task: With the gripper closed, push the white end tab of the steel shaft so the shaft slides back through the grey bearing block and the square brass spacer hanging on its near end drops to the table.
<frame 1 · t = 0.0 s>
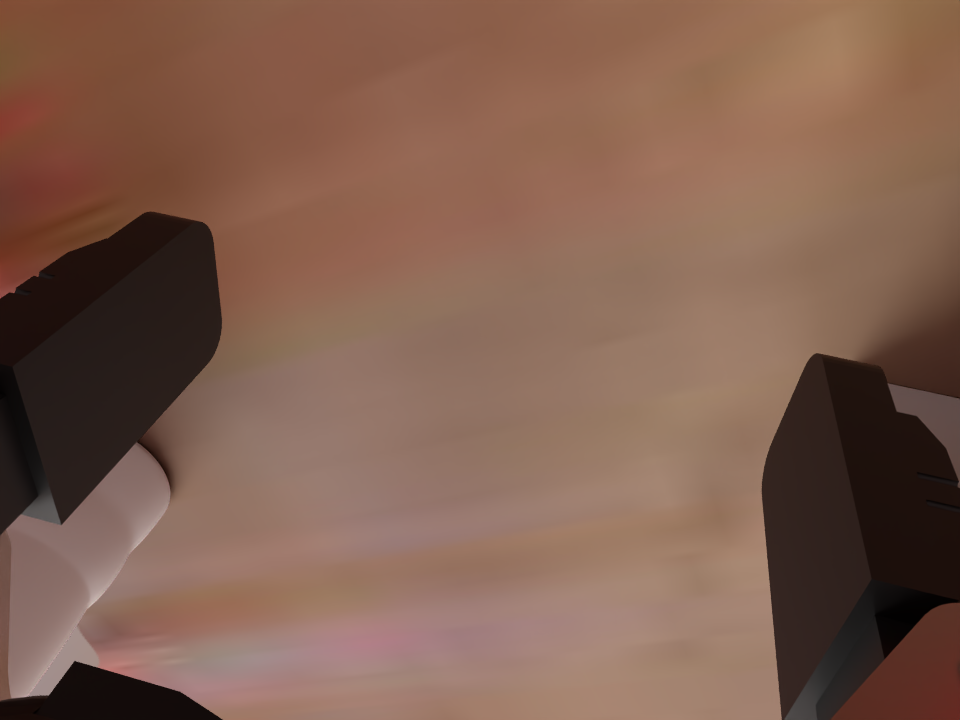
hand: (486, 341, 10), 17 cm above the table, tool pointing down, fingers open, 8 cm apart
water bottle: (119, 464, 43), on the table
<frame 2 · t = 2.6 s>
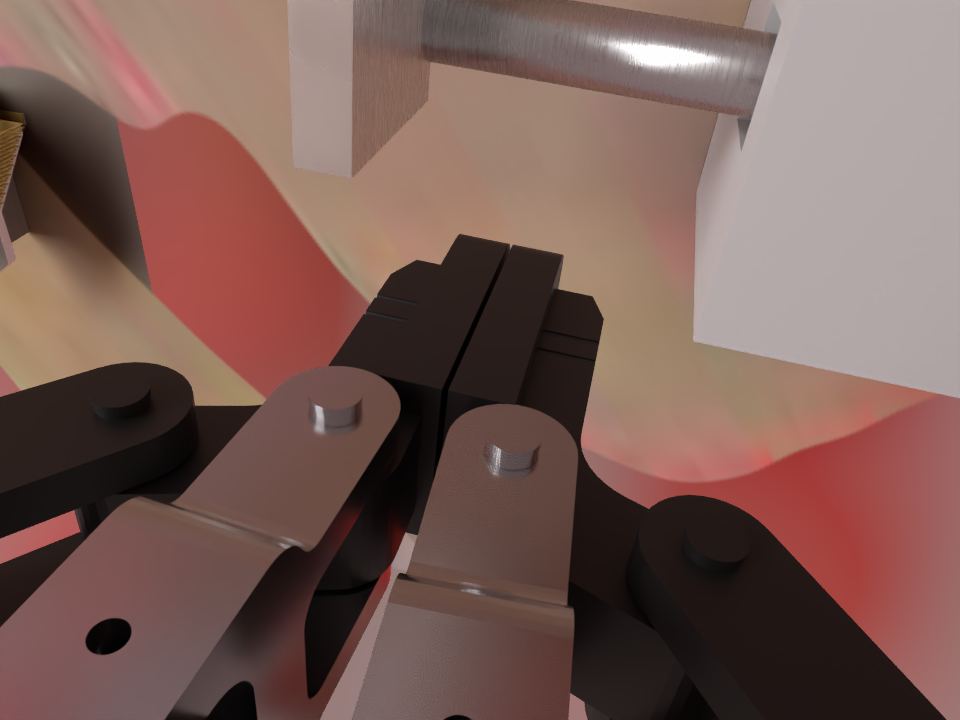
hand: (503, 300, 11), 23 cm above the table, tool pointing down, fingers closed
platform: (29, 162, 42), on the table
shaft: (818, 114, 21), point 11 cm above the table, slide at 0.0 cm, touching spacer
bearing block: (854, 37, 29), on the table
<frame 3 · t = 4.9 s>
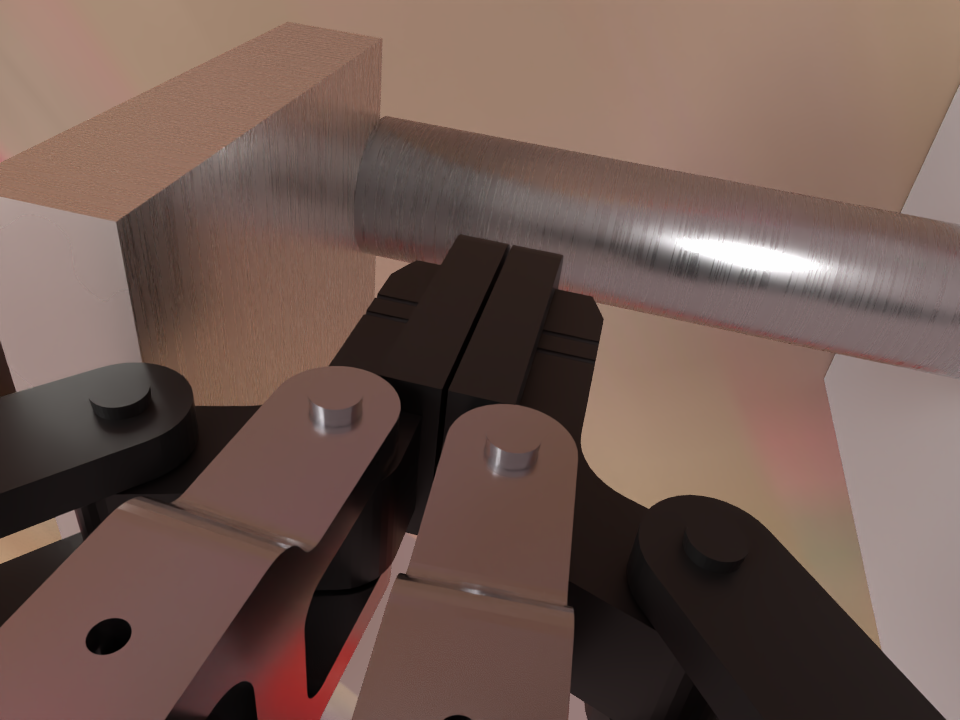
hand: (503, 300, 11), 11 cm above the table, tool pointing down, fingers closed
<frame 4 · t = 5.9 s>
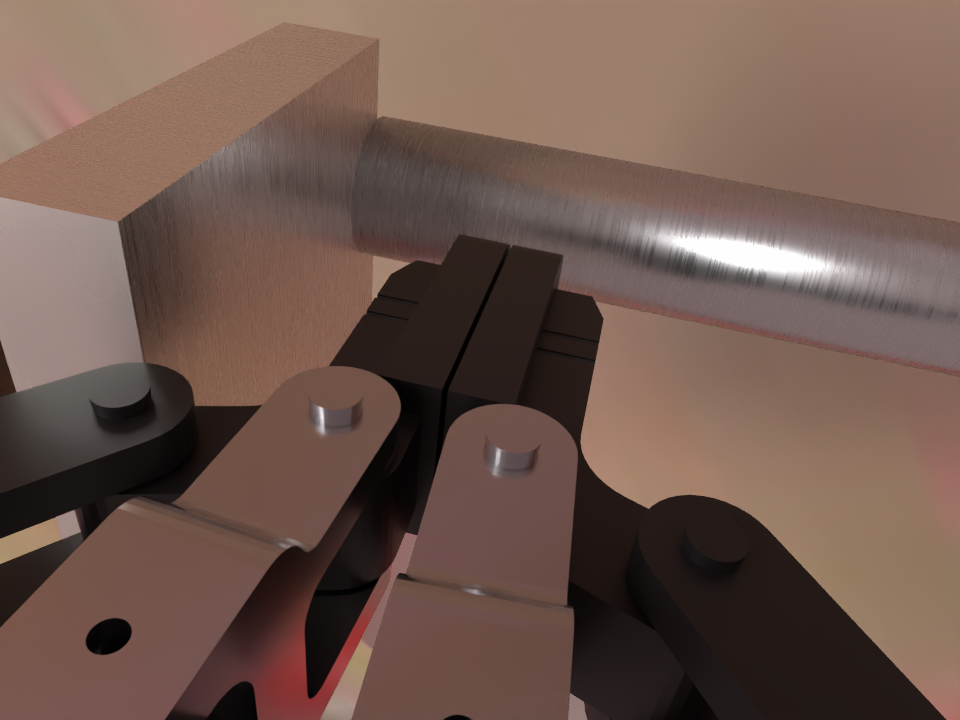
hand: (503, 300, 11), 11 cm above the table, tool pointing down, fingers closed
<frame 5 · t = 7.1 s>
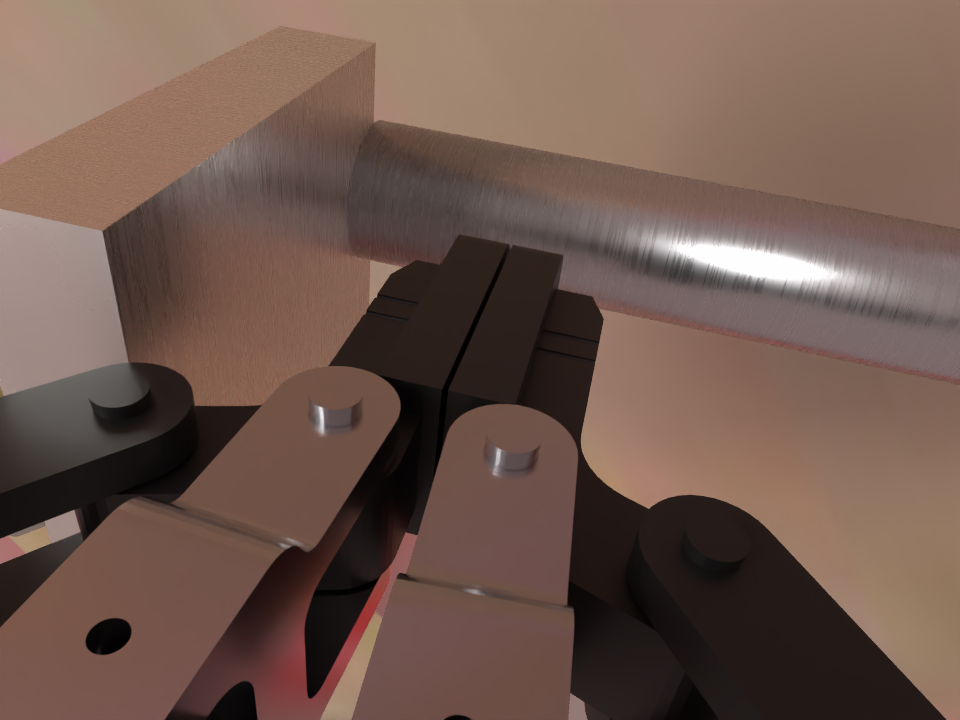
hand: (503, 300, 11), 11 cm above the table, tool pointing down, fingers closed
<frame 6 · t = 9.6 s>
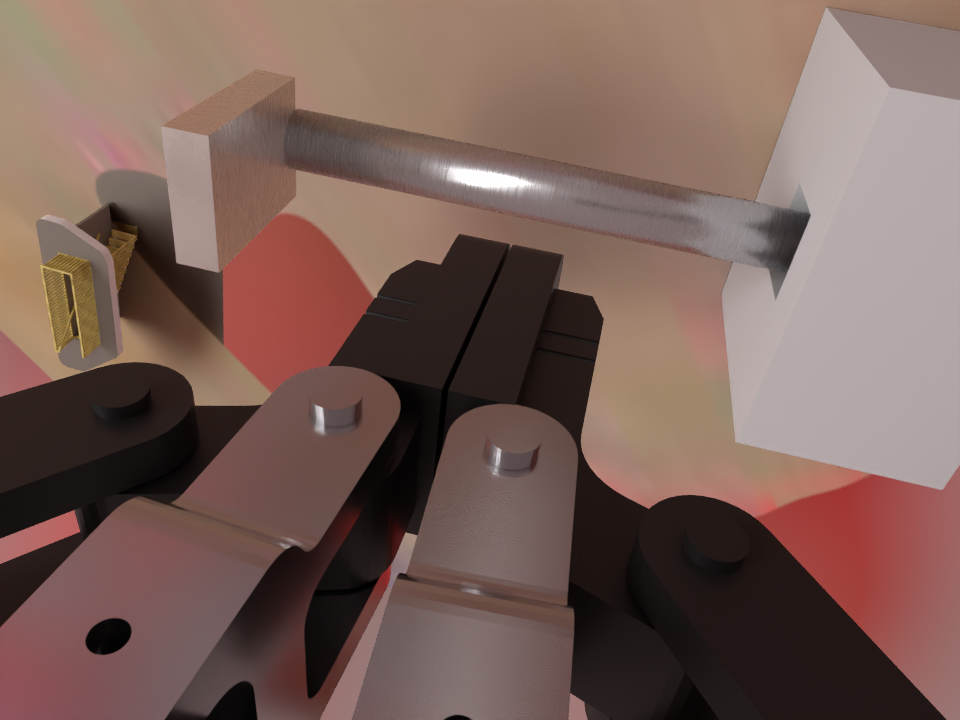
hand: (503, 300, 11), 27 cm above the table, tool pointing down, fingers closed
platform: (132, 262, 48), on the table
shaft: (562, 227, 29), point 11 cm above the table, slide at 9.9 cm
bearing block: (854, 183, 36), on the table
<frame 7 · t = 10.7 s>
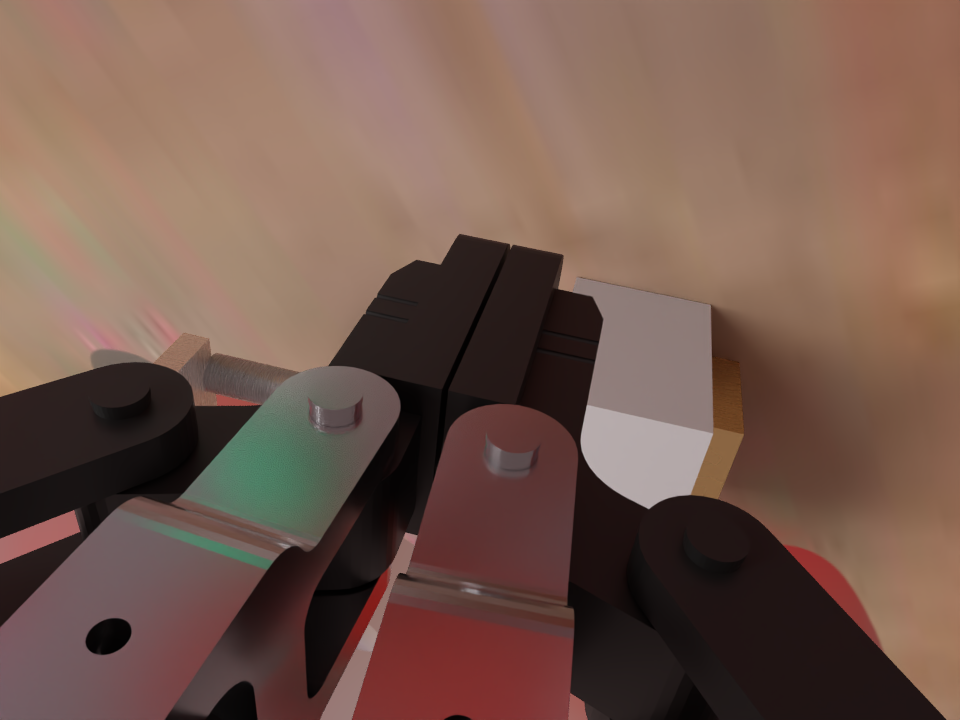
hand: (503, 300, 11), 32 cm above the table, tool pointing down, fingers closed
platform: (120, 409, 64), on the table
shaft: (378, 447, 43), point 11 cm above the table, slide at 9.9 cm
bearing block: (618, 383, 51), on the table
spacer: (702, 401, 50), on the table
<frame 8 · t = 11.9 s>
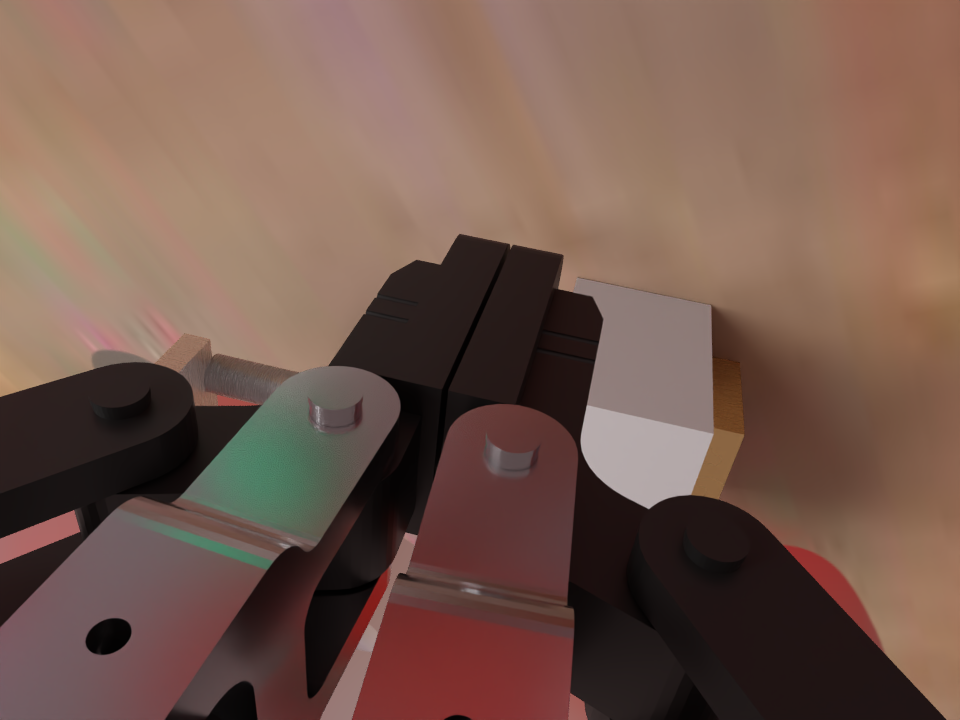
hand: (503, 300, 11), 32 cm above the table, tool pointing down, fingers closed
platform: (121, 411, 64), on the table
shaft: (379, 448, 43), point 11 cm above the table, slide at 9.9 cm
bearing block: (618, 383, 51), on the table
spacer: (703, 402, 50), on the table
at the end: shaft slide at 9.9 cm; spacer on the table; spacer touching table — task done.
